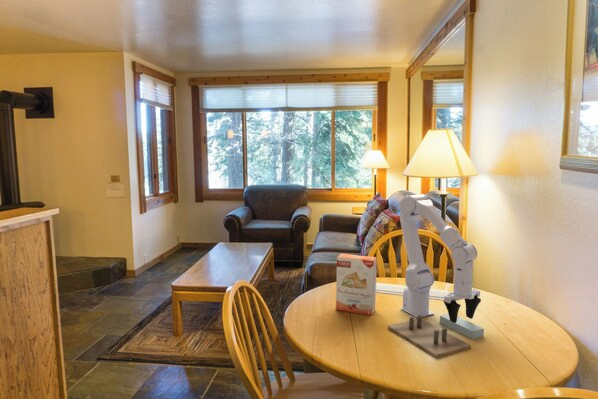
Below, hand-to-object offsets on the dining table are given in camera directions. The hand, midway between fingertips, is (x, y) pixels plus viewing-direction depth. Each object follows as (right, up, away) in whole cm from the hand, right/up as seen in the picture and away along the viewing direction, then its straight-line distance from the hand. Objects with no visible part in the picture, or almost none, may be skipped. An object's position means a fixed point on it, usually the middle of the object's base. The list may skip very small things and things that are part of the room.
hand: (461, 319), depth 135 cm
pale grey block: (0, -4, 0) cm, 4 cm away
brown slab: (-14, -4, -6) cm, 15 cm away
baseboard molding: (-7, 0, +36) cm, 36 cm away
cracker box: (-33, -2, +16) cm, 37 cm away
